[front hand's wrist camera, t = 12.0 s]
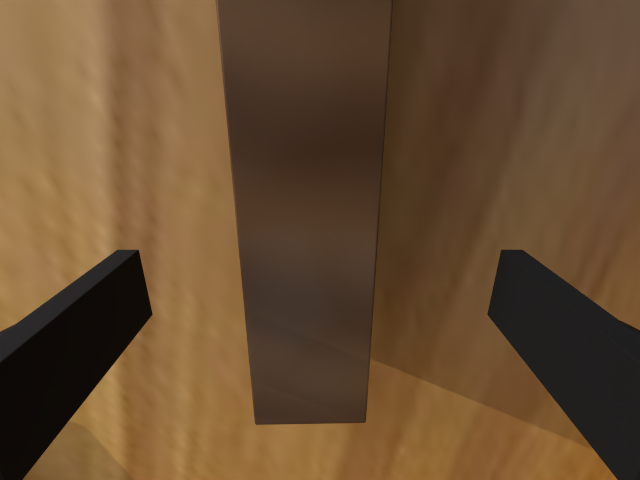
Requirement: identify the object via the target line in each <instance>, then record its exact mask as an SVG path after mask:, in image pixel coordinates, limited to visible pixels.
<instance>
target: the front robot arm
mask: <svg viewBox="0 0 640 480" xmlns="http://www.w3.org/2000/svg"><path fill="white" fill-rule="evenodd" d="M151 316H152V310H151V305H150V301H149V296H148V291H147V287H146V282H145V277H144V273H143V268H142V263H141V259H140V254H139V250H117V251H115V252H114V253H113V254H111V255H110V256H108V257H107V258H106V259H104V260H103V261H102V262H100V263H99V264H97V265H96V266H95V267H93V268H92V269H91V270H89V271H88V272H87V273H85V274H84V275H82V276H81V277H80V278H78V279H77V280H76V281H74V282H73V283H71V284H70V285H69V286H67V287H66V288H65V289H63V290H62V291H61V292H59V293H58V294H56V295H55V296H54V297H52V298H51V299H50V300H48V301H47V302H45V303H44V304H43V305H41V306H40V307H39V308H37V309H36V310H35V311H33V312H32V313H30V314H29V315H28V316H26V317H25V318H24V319H22V320H21V321H20V322H18V323H17V324H15V325H13V326H11V327H9V328H7V329H5V330H3V331H1V332H0V480H22V479H23V478H24V477H25V476H26V474H27V473H28V472H29V471H30V469H31V468H32V467H33V465H34V464H35V463H36V462H37V460H38V459H39V458H40V457H41V455H42V454H43V453H44V451H45V450H46V449H47V448H48V446H49V445H50V444H51V443H52V441H53V440H54V439H55V438H56V436H57V435H58V434H59V432H60V431H61V430H62V429H63V427H64V426H65V425H66V424H67V422H68V421H69V420H70V418H71V417H72V416H73V415H74V413H75V412H76V411H77V410H78V408H79V407H80V406H81V405H82V403H83V402H84V401H85V399H86V398H87V397H88V396H89V394H90V393H91V392H92V391H93V389H94V388H95V387H96V385H97V384H98V383H99V382H100V380H101V379H102V378H103V377H104V375H105V374H106V373H107V372H108V370H109V369H110V368H111V366H112V365H113V364H114V363H115V361H116V360H117V359H118V358H119V356H120V355H121V354H122V352H123V351H124V350H125V349H126V347H127V346H128V345H129V344H130V342H131V341H132V340H133V339H134V337H135V336H136V335H137V333H138V332H139V331H140V330H141V328H142V327H143V326H144V325H145V323H146V322H147V321H148V319H149V318H150V317H151ZM488 316H489V317H490V318H491V319H492V321H493V322H494V323H495V325H496V326H497V327H498V328H499V330H500V331H501V332H502V333H503V335H504V336H505V337H506V339H507V340H508V341H509V342H510V344H511V345H512V346H513V347H514V349H515V350H516V351H517V352H518V354H519V355H520V356H521V358H522V359H523V360H524V361H525V363H526V364H527V365H528V366H529V368H530V369H531V370H532V372H533V373H534V374H535V375H536V377H537V378H538V379H539V380H540V382H541V383H542V384H543V385H544V387H545V388H546V389H547V391H548V392H549V393H550V394H551V396H552V397H553V398H554V399H555V401H556V402H557V403H558V405H559V406H560V407H561V408H562V410H563V411H564V412H565V413H566V415H567V416H568V417H569V418H570V420H571V421H572V422H573V424H574V425H575V426H576V427H577V429H578V430H579V431H580V432H581V434H582V435H583V436H584V438H585V439H586V440H587V441H588V443H589V444H590V445H591V446H592V448H593V449H594V450H595V451H596V453H597V454H598V455H599V457H600V458H601V459H602V460H603V462H604V463H605V464H606V465H607V467H608V468H609V469H610V471H611V472H612V473H613V474H614V476H615V477H616V478H617V479H618V480H640V330H638V329H636V328H634V327H632V326H630V325H628V324H626V323H624V322H622V321H619V320H618V319H616V318H615V317H614V316H612V315H611V314H610V313H608V312H607V311H605V310H604V309H603V308H601V307H600V306H599V305H597V304H596V303H595V302H593V301H592V300H590V299H589V298H588V297H586V296H585V295H584V294H582V293H581V292H579V291H578V290H577V289H575V288H574V287H573V286H571V285H570V284H569V283H567V282H566V281H564V280H563V279H562V278H560V277H559V276H558V275H556V274H555V273H553V272H552V271H551V270H549V269H548V268H547V267H545V266H544V265H543V264H541V263H540V262H538V261H537V260H536V259H534V258H533V257H532V256H530V255H529V254H527V253H526V252H525V251H523V250H501V254H500V259H499V263H498V268H497V273H496V277H495V282H494V287H493V291H492V296H491V301H490V305H489V310H488Z"/></svg>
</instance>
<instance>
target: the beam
mask: <svg viewBox="0 0 640 480" xmlns="http://www.w3.org/2000/svg"><path fill="white" fill-rule="evenodd" d="M216 8H217V19H218V29H219V40H220V51H221V62H222V72H223V83H224V94H225V105H226V116H227V126H228V137H229V148H230V159H231V170H232V180H233V191H234V202H235V213H236V223H237V234H238V245H239V256H240V267H241V277H242V288H243V299H244V310H245V321H246V331H247V342H248V353H249V364H250V374H251V385H252V396H253V407H254V418H255V424H256V425H263V424H321V423H365V422H366V410H367V395H368V379H369V364H370V348H371V333H372V318H373V302H374V287H375V272H376V256H377V241H378V225H379V210H380V195H381V179H382V164H383V148H384V133H385V118H386V102H387V87H388V71H389V56H390V41H391V25H392V10H393V0H216Z"/></svg>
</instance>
